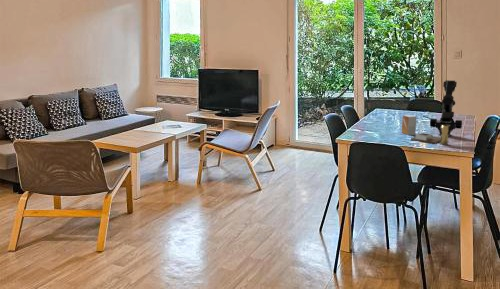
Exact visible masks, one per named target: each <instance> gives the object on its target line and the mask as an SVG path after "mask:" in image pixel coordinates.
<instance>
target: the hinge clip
mask: <svg viewBox="0 0 500 289" xmlns="http://www.w3.org/2000/svg"><path fill="white" fill-rule="evenodd" d="M415 137H416V139H419V140H425V141H427V140H431V139H432V138H433V137H434V134H432V133H426V132H421V133H415Z"/></svg>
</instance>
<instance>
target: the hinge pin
mask: <svg viewBox="0 0 500 289" xmlns="http://www.w3.org/2000/svg"><path fill="white" fill-rule="evenodd" d="M448 133H449V125H442V127H441V135H440V138H441V139H440V142H439V144H440V145H442V146H447V145H449V136H448Z"/></svg>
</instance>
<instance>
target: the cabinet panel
mask: <svg viewBox="0 0 500 289" xmlns="http://www.w3.org/2000/svg"><path fill="white" fill-rule="evenodd" d="M440 139H441V136H440V137H439V136H433V138H432V139H431V140H427V141H425V140H419V139H416V136H415V137H410V141H415V142H421V143H427V144H438V143H440Z"/></svg>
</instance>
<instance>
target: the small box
mask: <svg viewBox="0 0 500 289" xmlns="http://www.w3.org/2000/svg"><path fill="white" fill-rule="evenodd" d="M416 129H417V116H415V115H412V114H403V115H402V124H401V134H403V135H406V136H416V132H417V131H416Z"/></svg>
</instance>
